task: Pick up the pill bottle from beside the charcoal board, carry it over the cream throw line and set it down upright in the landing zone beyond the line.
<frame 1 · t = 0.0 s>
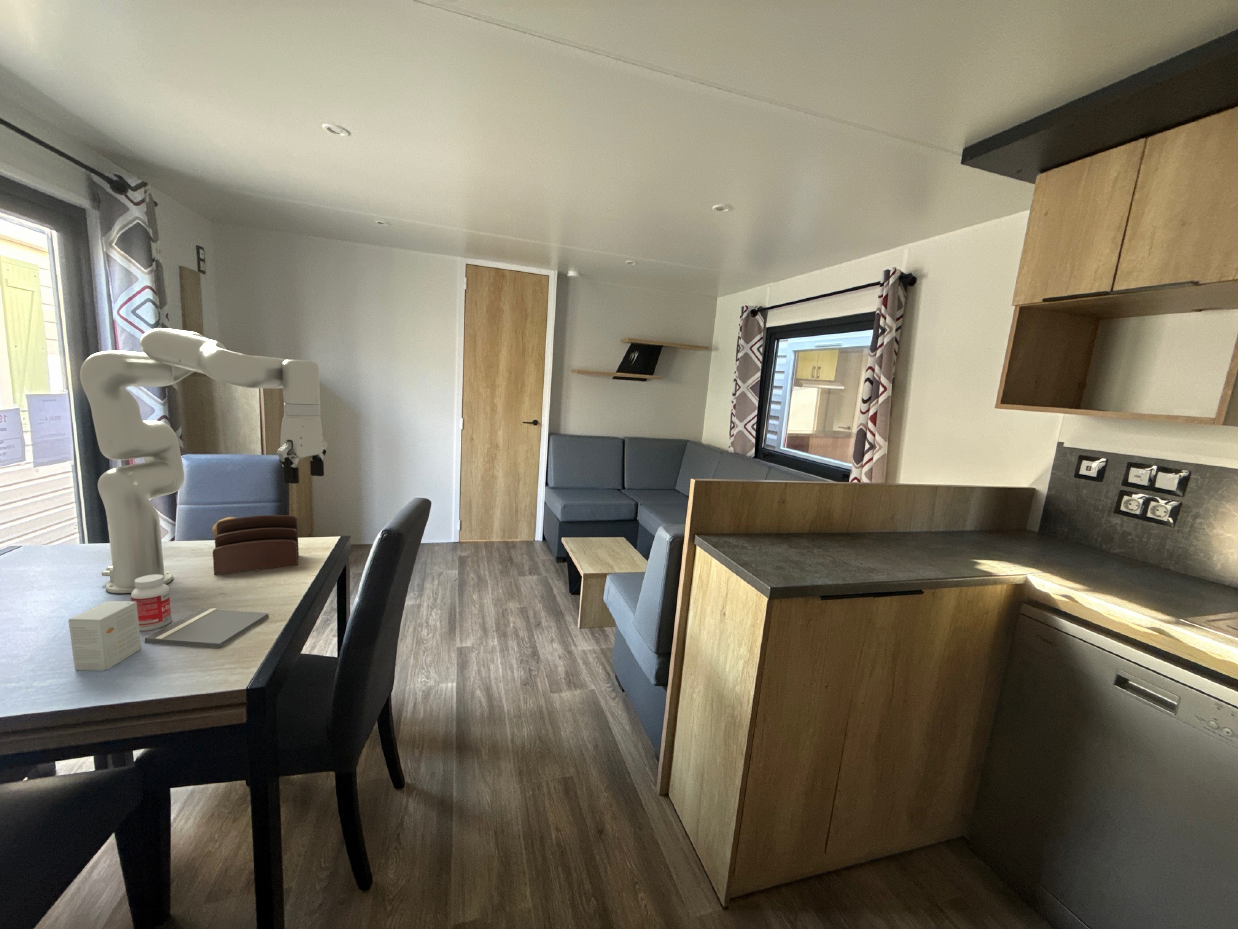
hand: (305, 479, 124), 31 cm above the table, tool pointing down, fingers open, 9 cm apart
pill bottle: (153, 625, 110), on the table
small box: (109, 660, 97), on the table
letter holder: (259, 565, 147), on the table
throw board: (210, 629, 110), on the table
natural sponge: (232, 547, 159), on the table
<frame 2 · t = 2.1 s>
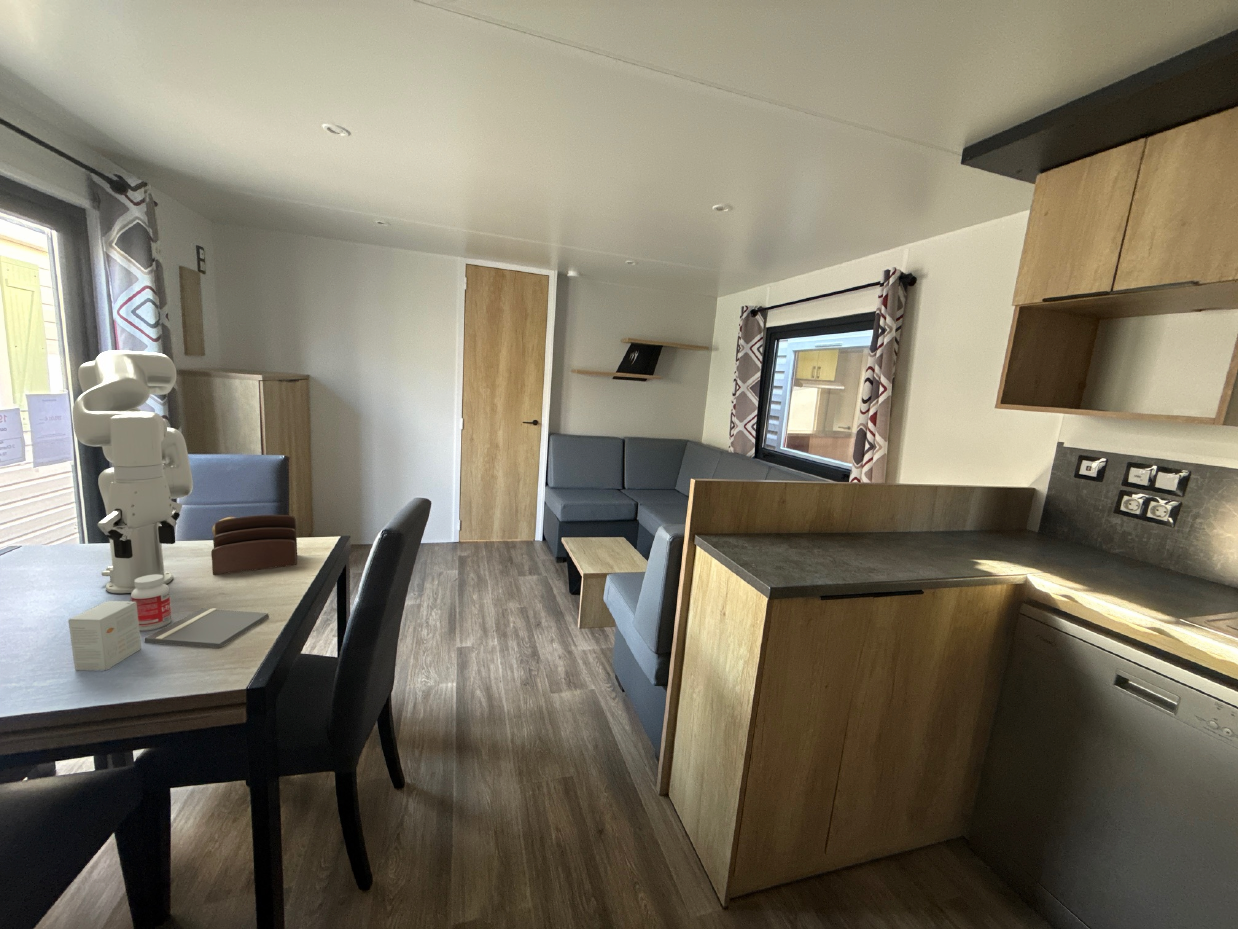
hand: (146, 550, 107), 18 cm above the table, tool pointing down, fingers open, 9 cm apart
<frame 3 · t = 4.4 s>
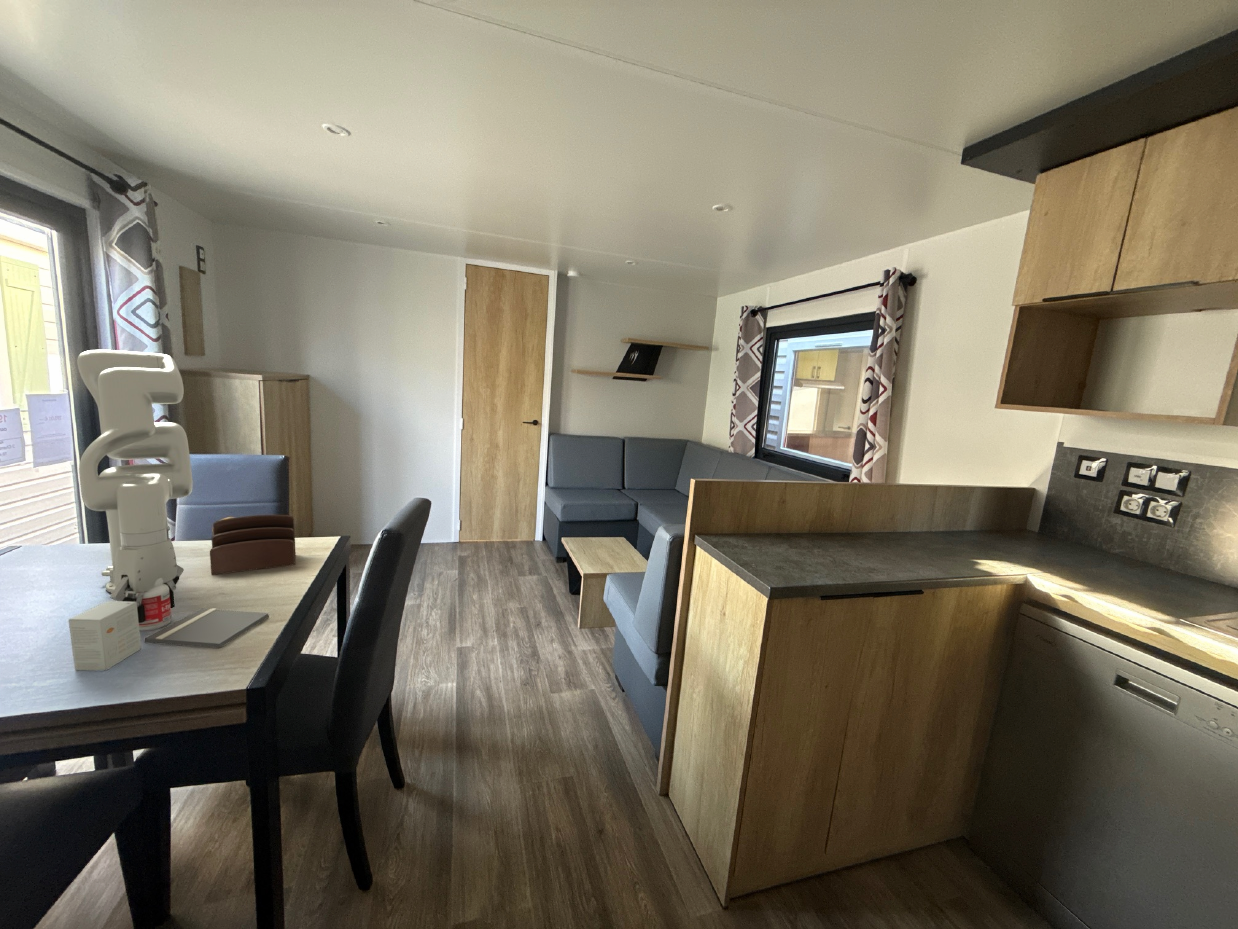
hand: (152, 613, 110), 3 cm above the table, tool pointing down, fingers closed on pill bottle, 6 cm apart
pill bottle: (153, 625, 110), on the table, touching gripper
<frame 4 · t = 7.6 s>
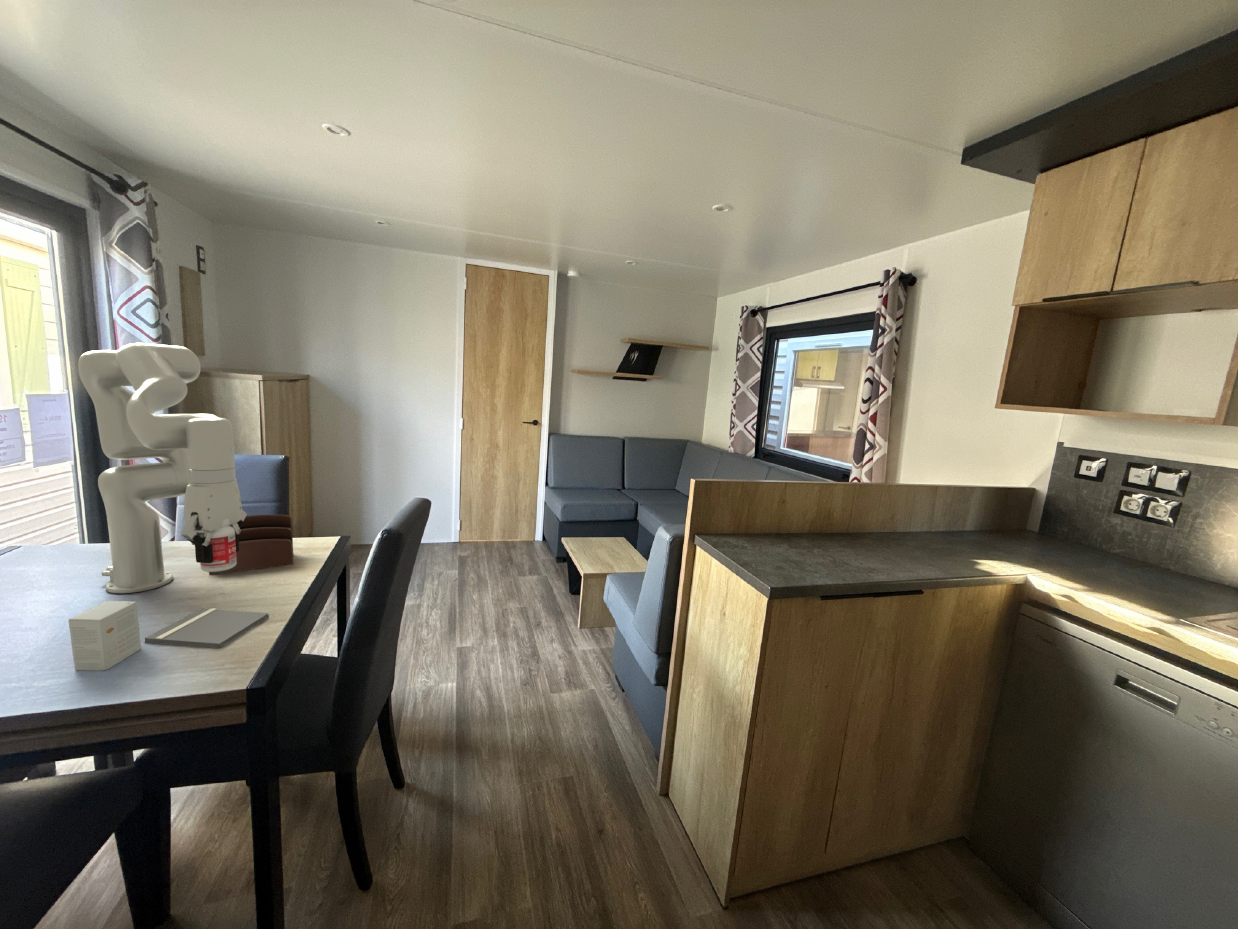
hand: (218, 556, 107), 17 cm above the table, tool pointing down, fingers closed on pill bottle, 6 cm apart
pill bottle: (219, 568, 108), point 14 cm above the table, touching gripper
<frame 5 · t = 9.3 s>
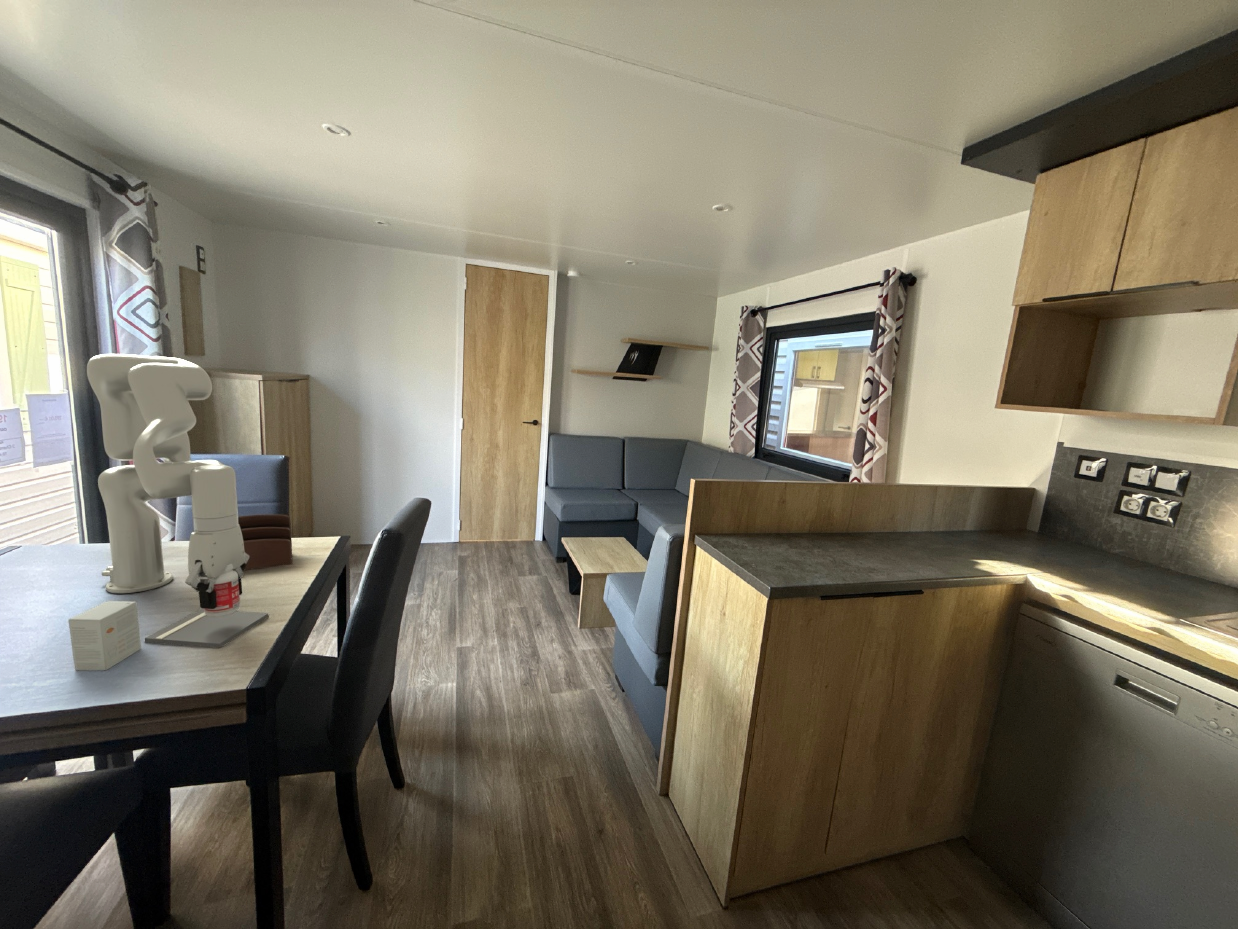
hand: (221, 600, 109), 7 cm above the table, tool pointing down, fingers closed on pill bottle, 6 cm apart
pill bottle: (222, 612, 109), point 4 cm above the table, touching gripper
when the fingers open (4 cm above the table, at t = 10.8 s): pill bottle stays where it is, resting on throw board.
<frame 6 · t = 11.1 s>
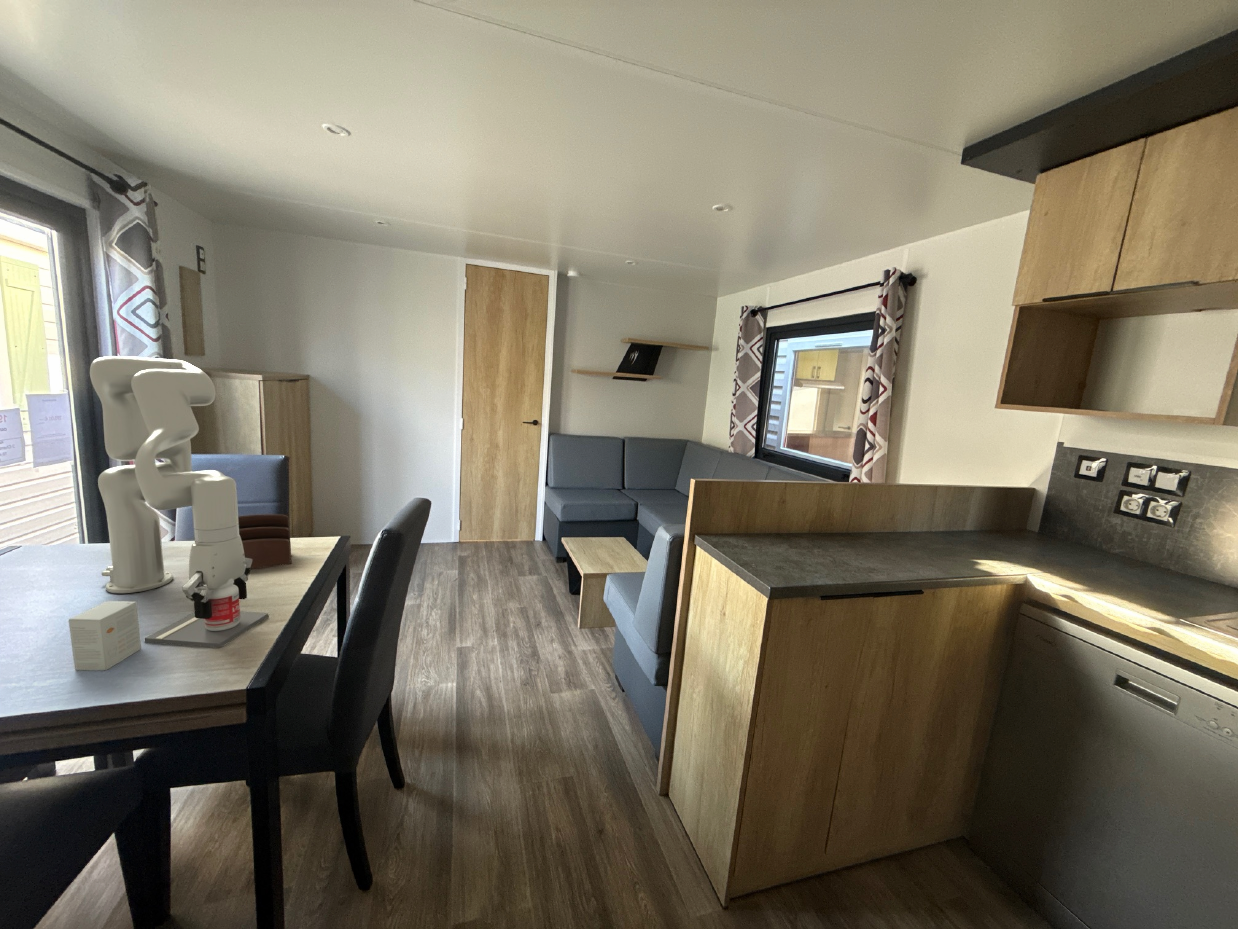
hand: (222, 607, 109), 5 cm above the table, tool pointing down, fingers open, 9 cm apart
pill bottle: (223, 626, 110), point 1 cm above the table, touching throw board
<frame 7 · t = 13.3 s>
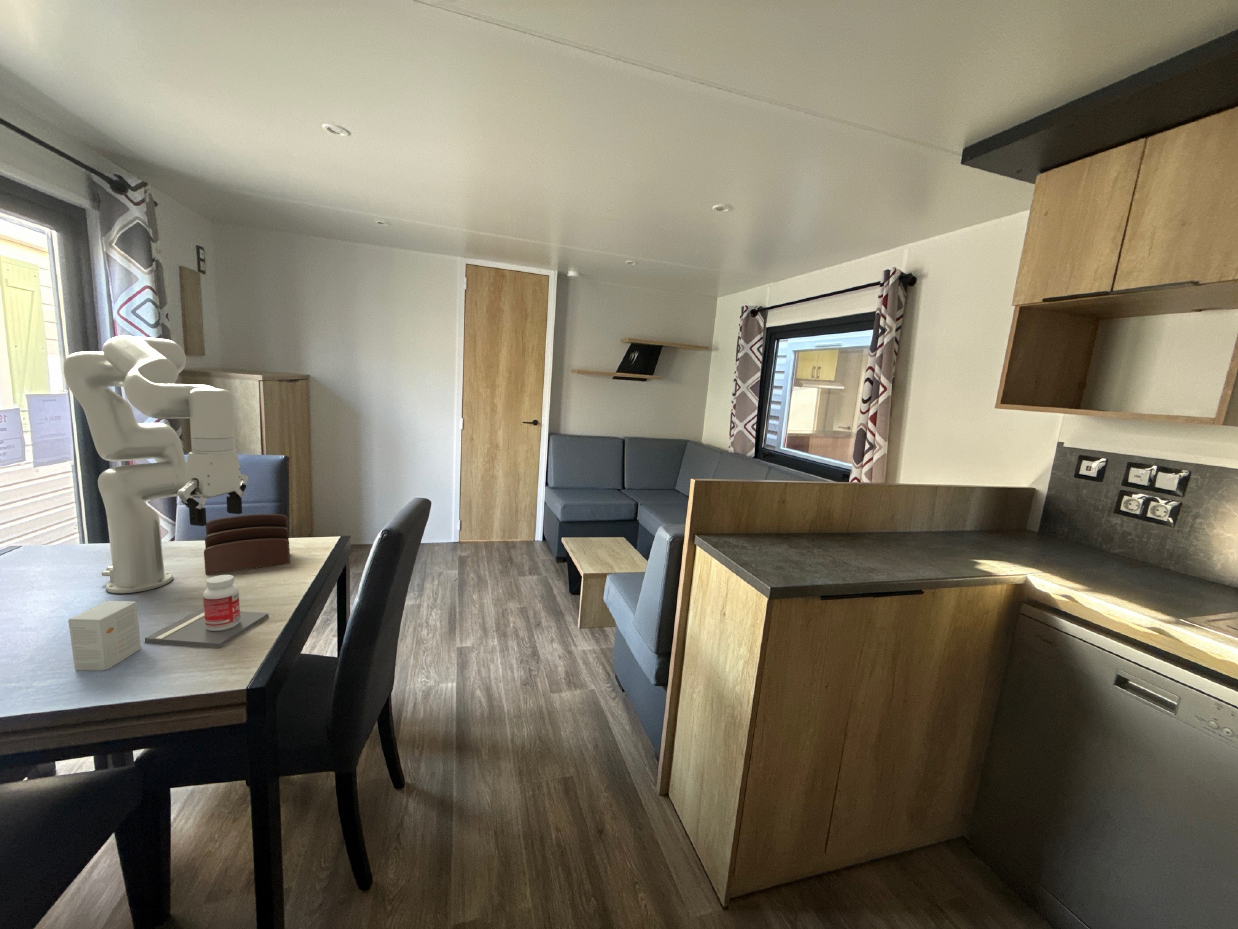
hand: (217, 519, 112), 24 cm above the table, tool pointing down, fingers open, 9 cm apart
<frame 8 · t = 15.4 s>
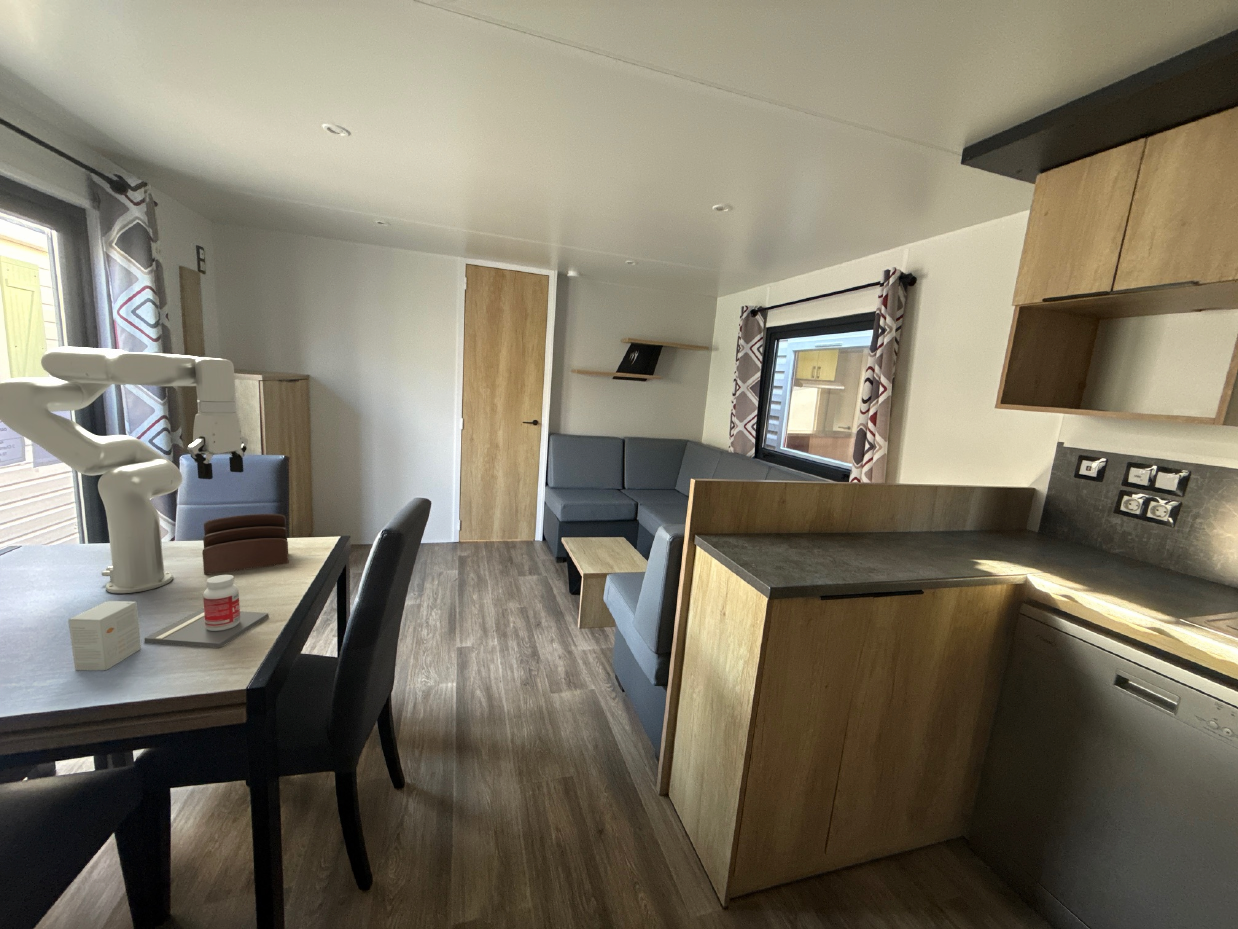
hand: (221, 475, 126), 30 cm above the table, tool pointing down, fingers open, 9 cm apart
at the end: pill bottle inside the target area (1.5 cm from its centre), point 0.8 cm above the table; pill bottle tilted 0°; the gripper is holding nothing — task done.
